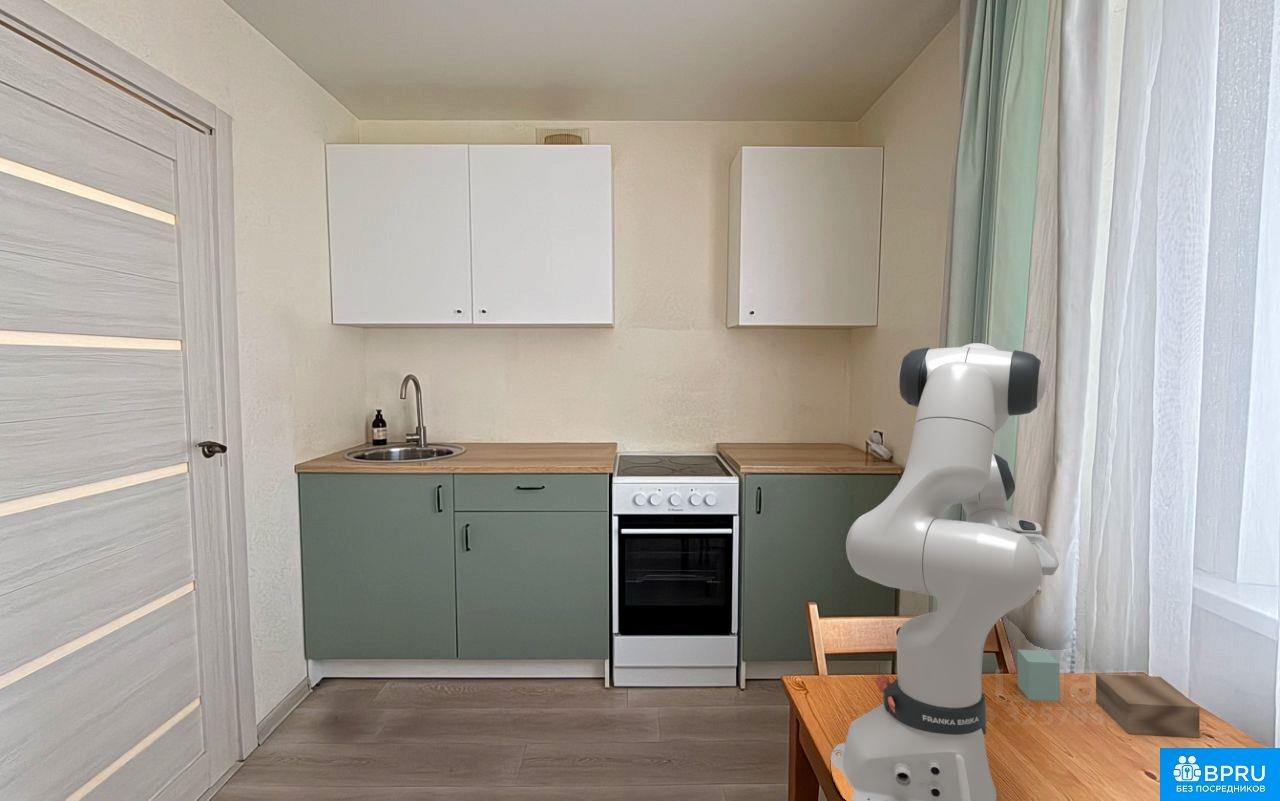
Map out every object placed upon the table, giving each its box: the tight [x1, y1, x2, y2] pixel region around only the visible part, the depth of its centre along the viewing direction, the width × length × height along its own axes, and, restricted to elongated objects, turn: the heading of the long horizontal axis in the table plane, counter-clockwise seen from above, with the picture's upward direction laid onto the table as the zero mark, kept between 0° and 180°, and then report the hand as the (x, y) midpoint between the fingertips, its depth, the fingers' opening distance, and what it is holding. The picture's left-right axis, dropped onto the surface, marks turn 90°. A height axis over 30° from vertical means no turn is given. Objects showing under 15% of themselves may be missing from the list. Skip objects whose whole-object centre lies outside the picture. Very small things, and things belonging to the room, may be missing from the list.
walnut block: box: [1095, 673, 1200, 738], centre depth 106 cm, size 10×10×5 cm
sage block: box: [1016, 649, 1061, 703], centre depth 116 cm, size 5×5×7 cm
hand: (1010, 592), depth 127 cm, fingers open, 8 cm apart
